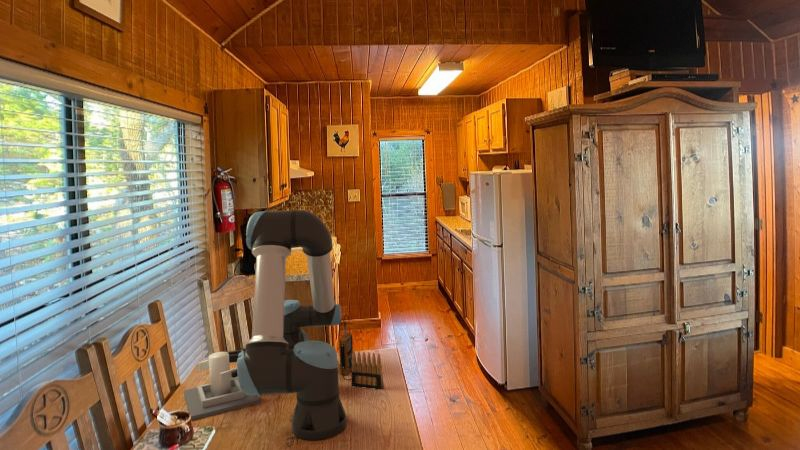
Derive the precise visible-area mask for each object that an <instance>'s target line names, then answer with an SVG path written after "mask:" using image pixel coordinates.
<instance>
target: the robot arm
mask: <svg viewBox="0 0 800 450" xmlns="http://www.w3.org/2000/svg"><path fill="white" fill-rule="evenodd" d="M245 232H246V233H245V236H246V239H245V241H246V246H247V248H248V249H249V250H251V254H252V255H253V256H254V257H255V258H256V260H255V264H256V265H255V275H254V276H255V279H254V280H255V281H254V294H253V295H254V296H253V311H252V312H253V313H252V327H251V328H252V329H251V338H250V339H249V340H248V341H247V342H246V343H245V347H244V348H241V349H238V350H232V351H227V352H228V353H229V364H231V363H232V364H233V363H236V367H233V368H231V369H230V370H228V371H225V372H222V373H220V382H221V383H222V382H225V381H227V380H230V379H233V378H236V377H237V378H238V380H239V384H240V388H241V390H242V391H243V393H244V394H246V395H258V396H259V397H261V396H262V397H263V396H269V395H282V394H285V395H286V394H296V403H295V407H294V411H293V413H292V414H293V415H292V418H291V431H292V433H293V435H294V436H295V437H297V438H299V439H302V440H307V441H319V440H320V441H322V440H326V439H329V438H332V437H334V436H337V435H338V434H340V433H341V432H343V431H344V430H345V429H346V427H347V424H348V423H347V414H346V411H345V409H344V406H343V403H342V400H341V398H340V386H339V385H340V384H339V369H338V368H339V361H338V352H337V350H336V347H334V346H333V345H332V344H330V343H329V342H328V343H327V342H325V341H322V340H313V339H311V340H310V339H309V337H308V334H307V333H306V331H305V330H302V328H309V327H331V326H339V323H340V324H341V323H342V306H341V304H338V303H335V293H334V292H335V291H334V281H333V273H332V271H333V270H332V261H331V252H332V251H333V246H334V245H333V238H332V236H331V232H330V231H329V229H328V227H327V226H326V223H324V221H323V220H322V219H321V218H320V217H319V216H317V215H316V214H315V213H312V212H311V211H308V210H305V209H295V210H293V209H292V210H264V211H256V212H254V213H253V214H252V215H251V216H250V217H249V219H248V221H247V225H246V231H245ZM294 248H301V249H302V251H303V252H302V253H303V254H304V255H306V259H307V260H306V261H307V268H308V275H309V283H310V291H311V299H312V305H310V304H309V305H301V303H300V301H299V300H297V299H286V300H285V297H286V296H285V294H286V291H285V290H286V265H287V261H286V260H287V258H289V257H290V256H291V255H292V249H294ZM340 320H341V322H340ZM197 367H198V372H202V371H205V370H209V358H208V359H206V360H203V361H199V362H197Z"/></svg>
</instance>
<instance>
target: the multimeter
mask: <svg viewBox="0 0 800 450" xmlns="http://www.w3.org/2000/svg"><path fill="white" fill-rule="evenodd" d="M345 317H347V318H348V320H350V317H349V315H348V314H345V315H344V316H343V319H341V320H340V322H341V323H342V321H343V325H344V329H343V331H344V332H343V334H342V336H341V328H340V327H341V323H339V325H338V326H339V327H338V330H339V331H338V333H339V334H338V335H339V339H338V350H339V351H338V353H339V356H338V357H339V369H340V370H339V371H340V372H339V373H340V375H342V378H343V379H344V380H345V381H350V380H351V381H352V378H349V379H348V378H345V375H346V376H349V374H350V373H351V372H352V354H353V351H354V344H353V333H352V332H351V331H350V328H348V331H347V322H346V321H347V320H346V319H345Z"/></svg>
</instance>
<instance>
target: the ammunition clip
mask: <svg viewBox="0 0 800 450" xmlns="http://www.w3.org/2000/svg"><path fill="white" fill-rule="evenodd" d="M356 355H357V356H356ZM376 357H377V358H376ZM382 369H383V368H382V358H381V354H380V352H378V353H377V356H376V353H375V352H373V353H372V357H371V353H370V352H367V355H366V353H365V351H363V352H362V355H361V352H360V351H359V350H358V351H357V354H356V352H355V350H353V354H352V370H351V387H353V386H355V388H361V387H366V388H365V389H369V388H375V389H374V390H378V389H382V388H383V389H384V377H383V371H382ZM383 389H382V390H383Z"/></svg>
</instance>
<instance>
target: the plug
mask: <svg viewBox="0 0 800 450" xmlns="http://www.w3.org/2000/svg"><path fill="white" fill-rule="evenodd" d="M228 352H229V351H218V352H213V353H211V354H209V355H208V359H209V369H208V370H209V372H208V373H209V383H210V386H211V397H216V396H220V395H224V394H229V393H231V381H230V380H227V381H225V382H222V383H221V382H220V373H222V372H225V371H228V370H231V369H230V363H229V353H228Z"/></svg>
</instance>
